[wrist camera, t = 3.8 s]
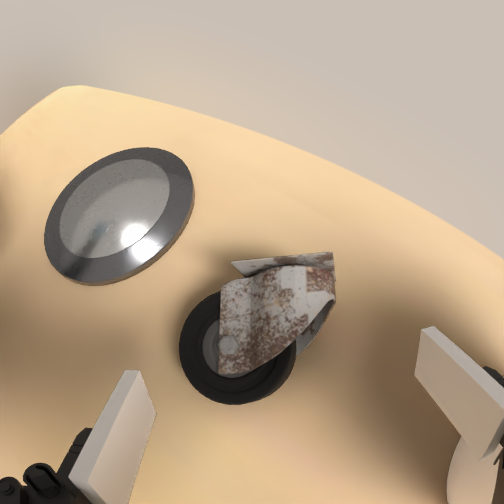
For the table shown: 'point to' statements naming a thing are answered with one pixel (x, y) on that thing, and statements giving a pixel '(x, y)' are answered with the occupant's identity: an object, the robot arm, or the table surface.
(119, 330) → the table surface
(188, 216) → the carrier plate
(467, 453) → the canister
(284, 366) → the caster wheel
